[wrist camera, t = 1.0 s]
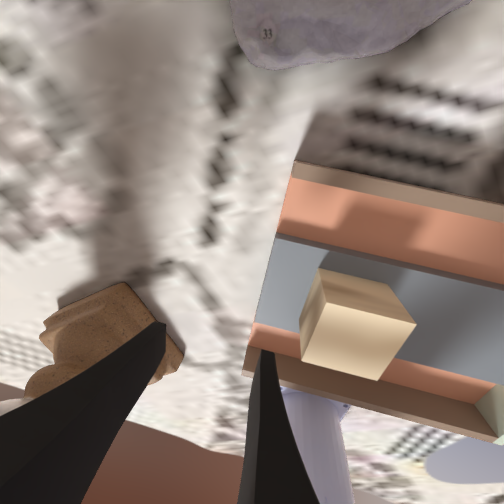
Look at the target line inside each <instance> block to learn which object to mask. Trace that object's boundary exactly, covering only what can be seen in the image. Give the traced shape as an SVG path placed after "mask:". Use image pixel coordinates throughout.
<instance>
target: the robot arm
mask: <svg viewBox="0 0 504 504" xmlns="http://www.w3.org/2000/svg"><path fill="white" fill-rule="evenodd" d="M165 352H166V324H164V323H160V322H156V321H154V322H152V323H151V324H150V325H148V326H147V327H146V328H144V329H143V330H142V331H141V332H139V333H138V334H137V335H135V336H134V337H133V338H131V339H130V340H129V341H127V342H126V343H124V344H123V345H122V346H120V347H119V348H117V349H116V350H115V351H113V352H112V353H110V354H109V355H107V356H106V357H104V358H103V359H101V360H100V361H98V362H97V363H95V364H94V365H92V366H91V367H89V368H88V369H86V370H85V371H83V372H81V373H80V374H78V375H76V376H75V377H73V378H71V379H70V380H68V381H66V382H65V383H63V384H61V385H59V386H58V387H56V388H54V389H52V390H50V391H48V392H47V393H45V394H43V395H41V396H39V397H37V398H35V399H34V400H32V401H30V402H28V403H26V404H24V405H22V406H20V407H18V408H16V409H14V410H11V411H9V412H7V413H5V414H3V415H1V416H0V504H81V502H82V500H83V498H84V496H85V494H86V492H87V490H88V488H89V486H90V484H91V482H92V480H93V478H94V476H95V474H96V472H97V470H98V468H99V466H100V465H101V463H102V461H103V459H104V457H105V455H106V453H107V451H108V449H109V448H110V446H111V444H112V442H113V440H114V438H115V436H116V435H117V433H118V431H119V429H120V428H121V426H122V424H123V422H124V421H125V419H126V418H127V416H128V414H129V413H130V411H131V410H132V408H133V407H134V405H135V404H136V402H137V400H138V399H139V397H140V396H141V394H142V393H143V391H144V390H145V388H146V386H147V385H148V383H149V382H150V380H151V378H152V377H153V375H154V374H155V372H156V370H157V368H158V366H159V364H160V362H161V360H162V358H163V356H164V354H165ZM350 406H351V405H350V404H346V403H342V402H339V401H335V400H331V399H328V398H324V397H320V396H316V395H313V394H309V393H305V392H302V391H298V390H294V389H290V388H287V387H283V386H280V383H279V378H278V373H277V367H276V359H275V354H274V352H271V351H267V350H263V349H261V352H260V355H259V359H258V362H257V366H256V369H255V372H254V376H253V382H252V387H251V393H250V399H249V410H248V421H247V432H246V444H245V455H244V463H243V471H242V477H241V484H240V489H239V496H238V502H237V504H355V500H354V495H353V489H352V484H351V478H350V473H349V468H348V462H347V457H346V452H345V446H344V441H343V436H342V430H341V425H340V421H341V420H342V418H343V417H344V415H345V414H346V412H347V411H348V409H349V408H350Z"/></svg>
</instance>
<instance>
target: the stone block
mask: <svg viewBox="0 0 504 504" xmlns="http://www.w3.org/2000/svg"><path fill="white" fill-rule="evenodd" d="M470 1H472V0H230V7H231V13H232V20H233V27H234V33H235V35H236V38H237V40H238V43H239V46H240V47H241V49H242V50H243V51H244V53H245V54H246V56H247V58H248V61H249V62H250V63H251V64H253V65H255V66H256V67H263V68H266V69H270V70H276V69H286V68H291V67H296V66H300V65H306V64H312V63H316V62H322V63H329V62H333V61H336V60H339V59H350V58H354V59H358V58H361V57H365V56H371V55H377V54H382V53H385V52H388V51H390V50H392V49H393V48H395V47H396V46H398V45H400V44H402V43H404V42H406V41H407V40H409V39H410V38H411V37H412V36H414V35H415V34H416V33H417V32H418V31H419V30H421V29H423V28H425V27H427V26H429V25H431V24H433V23H434V22H435V21H436V20H437V19H439V18H441V17H443V16H444V15H446V14H448V13H449V12H451V11H453V10H455V9H457V8H460V7H462V6H464V5H467V4H468V3H469V2H470Z"/></svg>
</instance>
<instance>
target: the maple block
mask: <svg viewBox="0 0 504 504" xmlns="http://www.w3.org/2000/svg"><path fill="white" fill-rule="evenodd" d="M416 325H417V324H416V323H415V321H414V320H413V318H412V317H411V316H410V314H409V313H408V312H407V310H406V309H405V308H404V306H403V305H402V303H401V302H400V301H399V299H398V298H397V297H396V295H395V294H394V292H393V291H392V290H391V288H390V287H389V286H388V284H384V283H380V282H376V281H372V280H368V279H363V278H359V277H355V276H351V275H346V274H342V273H338V272H334V271H330V270H325V269H321V268H318V269H317V272H316V274H315V277H314V280H313V282H312V285H311V288H310V291H309V293H308V296H307V299H306V301H305V304H304V307H303V309H302V312H301V315H300V317H299V331H300V348H301V361H303V362H307V363H311V364H314V365H318V366H322V367H326V368H330V369H334V370H337V371H341V372H345V373H349V374H353V375H356V376H360V377H364V378H368V379H372V380H376V381H377V380H378V379H379V378H380V376H381V375H382V373H383V372H384V371H385V369H386V368H387V366H388V365H389V363H390V362H391V361H392V359H393V358H394V356H395V355H396V353H397V352H398V351H399V349H400V348H401V346H402V345H403V344H404V342H405V341H406V339H407V338H408V336H409V335H410V334H411V332H412V331H413V329H414V328H415V326H416Z"/></svg>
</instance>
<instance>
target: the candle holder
mask: <svg viewBox="0 0 504 504" xmlns="http://www.w3.org/2000/svg"><path fill="white" fill-rule="evenodd" d="M154 321H156V322H158V321H157V320H156V319H155V318H154V316H153V315H152V314H151V312H150V311H149V310H148V309H147V307H146V306H145V305H144V304H143V302H142V301H141V300H140V298H139V297H138V296H137V295H136V294H135V292H134V291H133V290H132V289H131V288H130V287H129V285H127V284H126V283H119V284H116V285H113V286H111V287H108V288H106V289H104V290H101V291H99V292H97V293H95V294H92V295H90V296H88V297H85V298H83V299H81V300H79V301H76V302H74V303H72V304H69V305H67V306H65V307H63V308H62V309H60V310H58V311H57V312H55V313H54V314H53V315H51V316H50V317H48V318H47V319H46V320H45V321H44V322H43V323H44V325H45V326H46V330H45V331H44V332H42V333H41V334H40V335H39V339H40V340H41V342H42V343H43V344H44V345H45V346H46V347H47V348H48V349H49V350H50V351H51V352H52V353H53V358H54V362H55V364H54V365H49V366H46V367H43V368H41V369H40V370H38V371H37V372H36V373H35V374H33V375H32V376H31V378H30V379H29V381H28V382H27V385H26V387H25V393H24V397H23V398H22V399H11V400H6V401H1V402H0V416H1V415H3V414H5V413H7V412H9V411H11V410H14V409H16V408H18V407H20V406H22V405H24V404H26V403H28V402H30V401H32V400H34V399H35V398H37V397H39V396H41V395H43V394H45V393H47V392H48V391H50V390H52V389H54V388H56V387H58V386H59V385H61V384H63V383H65V382H66V381H68V380H70V379H71V378H73V377H75V376H76V375H78V374H80V373H81V372H83V371H85V370H86V369H88V368H89V367H91V366H92V365H94V364H95V363H97V362H98V361H100V360H101V359H103V358H104V357H106V356H107V355H109V354H110V353H112V352H113V351H115V350H116V349H117V348H119V347H120V346H122V345H123V344H124V343H126V342H127V341H129V340H130V339H131V338H133V337H134V336H135V335H137V334H138V333H139V332H141V331H142V330H143V329H144V328H146V327H147V326H148V325H150V324H151V323H152V322H154ZM183 358H184V356H183V354H182V353H181V351H180V350H179V348H178V347H177V346H176V344H175V343H174V342H173V340H172V339H171V338H170V337H169V335H168V334H167V333H166V352H165V354H164V356H163V358H162V360H161V362H160V364H159V366H158V368H157V370H156V372H155V374H154V375H153V377H152V378H151V380H150V382H149V383H148V385H150V384H153V383H156V382H157V381H159V380H161V379H162V377H163V376H164V375H167V374H170V373H174V372H176V371H177V369H178V368H179V366H180V364H181V362H182V360H183Z"/></svg>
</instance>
